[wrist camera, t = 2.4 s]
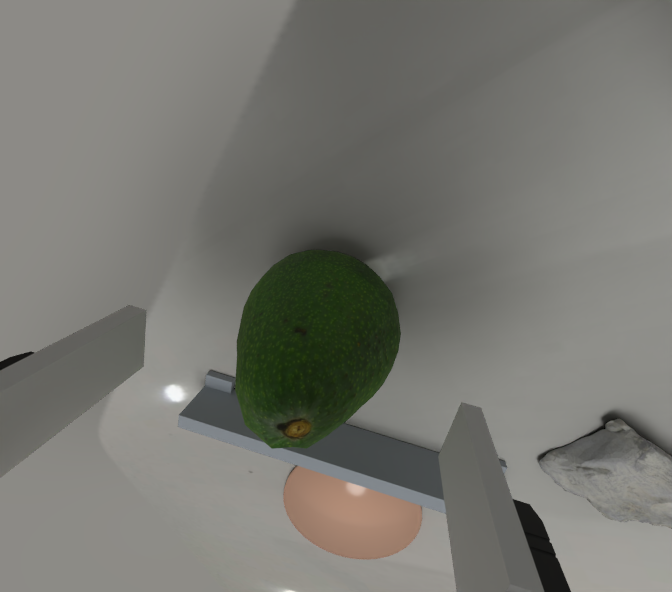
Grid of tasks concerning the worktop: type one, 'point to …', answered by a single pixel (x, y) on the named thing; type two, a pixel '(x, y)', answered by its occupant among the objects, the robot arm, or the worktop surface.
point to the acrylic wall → (325, 448)
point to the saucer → (349, 516)
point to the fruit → (313, 346)
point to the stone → (616, 474)
